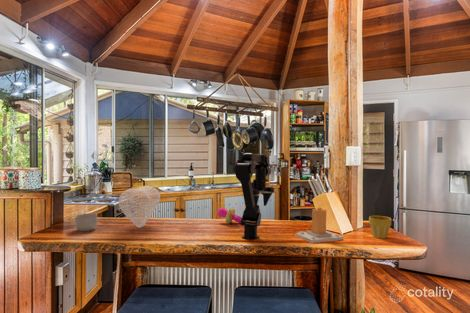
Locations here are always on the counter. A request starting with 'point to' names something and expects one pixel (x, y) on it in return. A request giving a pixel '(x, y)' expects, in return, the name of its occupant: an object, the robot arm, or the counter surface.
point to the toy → (229, 215)
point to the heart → (130, 216)
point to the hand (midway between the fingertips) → (260, 206)
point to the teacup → (86, 221)
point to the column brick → (319, 221)
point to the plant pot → (380, 226)
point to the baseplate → (318, 237)
